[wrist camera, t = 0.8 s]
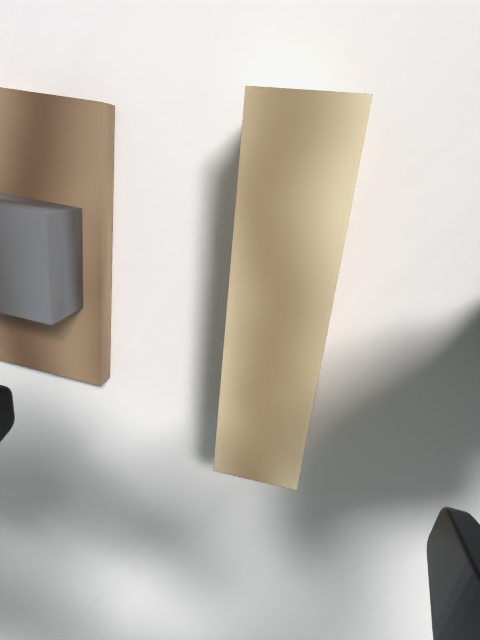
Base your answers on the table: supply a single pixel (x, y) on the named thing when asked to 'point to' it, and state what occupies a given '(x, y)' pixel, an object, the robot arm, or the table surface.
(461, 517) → the robot arm
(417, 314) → the table surface
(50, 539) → the table surface
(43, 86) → the table surface
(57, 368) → the fulcrum stand
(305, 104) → the beam
